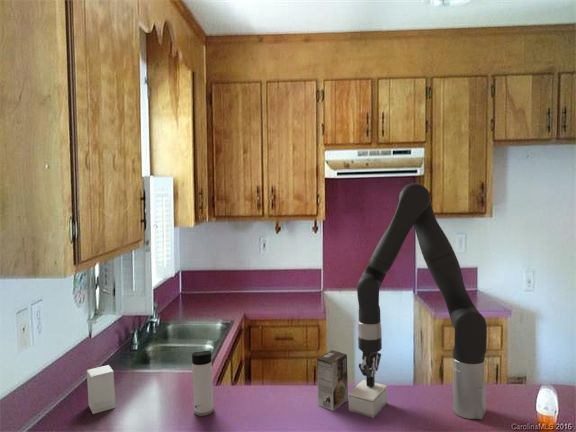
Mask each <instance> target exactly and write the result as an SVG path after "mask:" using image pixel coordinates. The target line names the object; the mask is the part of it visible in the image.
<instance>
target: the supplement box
mask: <svg viewBox="0 0 576 432" xmlns="http://www.w3.org/2000/svg"><path fill="white" fill-rule="evenodd" d="M114 372H115V371H114V369H112V367H111V366H110V364H107V365H103V366H98V367H94V368H90V369H86V379H87V380H86V382H87V397H88V399H87V400H88V407H89V409H90V411H91V413H92V415H94V414H99V413H102V412H105V411H108V410H112V409H115V408H116V394H115V389H116V388H115V373H114Z"/></svg>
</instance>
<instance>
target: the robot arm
mask: <svg viewBox="0 0 576 432" xmlns="http://www.w3.org/2000/svg"><path fill="white" fill-rule="evenodd" d="M398 197H399V198H398V204H397V207H396V210H395V213H394V215H393V217H392V220H391V222H390V223H389V226H387V228H386V230H385V232H384V233H383V234H382V237H381V238H380V239H379V241H378V243H377V245H376V247H375V249H374V251H372V254H371V257H370V259H369V263H368V264H367V266H366V267H365V269H364V271H363V272H362V274H361V276H360V278H359V280H358V282H357V285H356V293H357V294H356V295H357V303H358V324H357V325H358V326H357V333H358V334H357V337H358V338H357V339H358V341H357V342H358V343H357V344H358V347H357V348H358V349H359V350H360V351H361V352H362V356H361V359H362V360H361V361H362V362H361V363H359V364H358V368H359V370H360V372H361V374H362V376H365V378H366V379H365V380H366V382H367V386H368V387H371V388H372V387H373V386H374V385H375V383H376V381H375V379H376V378H375V376H376V374H377V373H376V372H378V370H379V367H380V361H381V357H382V353H381V352H380V351H382V345H383V344H382V338H383V337H382V335H383V334H382V323H381V320H382V319H381V307H380V288H381V286H382V284H383V282H384V280H385V278H386V275H387V273H388V272H389V271H390V270H391V268H392V266H393V264H394V262H395V261H396V259H397V256H398V255H399V253H400V251H401V249H402V247H403V245H404V242H405V240H406V238H407V236H408V234H409V233H410V231H411V229H412V228H414V231H415V234H416V238H417V241H418V245H419V247H420V248H419V249H420V252H421V254H422V257H423V260H424V262H425V264H426V267H427V269H428V272H429V273H430V275H431V277H432V279H433V281H434V283H435V285H436V286H437V288H438V289H439V292H440V293H441V295H442V298H443V299H444V300H443V301H444V303H445V306H446V308H447V311H448V315H449V319H450V323H451V325H452V327H453V329H454V345H453V348H452V411H453V413H454V414H456V415H457V416H459V417H461V418H464V419H470V420H480V421H481V420H483V419H484V417H485V416H486V415H485V414H486V412H487V382H486V381H485V356H486V353H487V343H488V342H487V341H488V340H487V339H488V328H487V327H488V326H487V321H486V319H485V317H484V316H483V315H482V313H480V311H479V310H478V309H477V307H476V306H475V304H474V303H473V301H472V299H471V297H470V295H469V293H468V292H467V291H468V290H467V289H466V287H465V283H464V278H463V273H462V269H461V265H460V263H459V260H458V258H457V256H456V253H455V251H454V247H452V244H451V243H450V241H449V239H448V237H447V236H446V235H447V234H446V233H445V232H444V231H443V229H442V227H441V225H440V224H439V223H438V219H437V218H436V215H435V213H434V209H433V207H432V204H431V194H430V192H429V190H428V188H427V187H425V186H424V185H422V184H420V183H415V182H413V183H409V184H406V185H405V186H403V188H401V190H400V192H399V196H398Z"/></svg>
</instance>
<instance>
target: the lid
mask: <svg viewBox="0 0 576 432" xmlns="http://www.w3.org/2000/svg"><path fill="white" fill-rule="evenodd" d="M387 387H388V385H386V384H382V383H378V382H375V385H374V386H373V387H372V388H371V387H368V386H367V382H366V379H362V380H361V381H360V382H359V383H358V384H357V385H356V386H354V387H352V389H351V390H350V391H348V396H349V395H351V396H355V397H358V398H362V399H366V400H369V401H374V400H375V399H376V398H377V397H378V396H379V395H380V394H381V393H382V392H383V391H384V390H385V389H387Z"/></svg>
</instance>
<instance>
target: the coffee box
mask: <svg viewBox="0 0 576 432" xmlns="http://www.w3.org/2000/svg"><path fill="white" fill-rule="evenodd" d="M316 359H317V362H316V364H317V365H316V366H317V395H318V396H317V403H318V406H319V407H321V408H324V409H327V410H329V411H332V412H333V411H334V412H335V411H336V409H338V408H340V407H341V406H342V405H344V403H346V402H348V401H349V399H348V396H349V395H348V393H349V387H348V386H349V385H348V381H349V380H348V377H349V376H348V354H347V353H343V352H340V351H336V350H334V349H333V350H329V351H328V352H326V353H324V354H322V355H321V356H319V357H317V358H316Z"/></svg>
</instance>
